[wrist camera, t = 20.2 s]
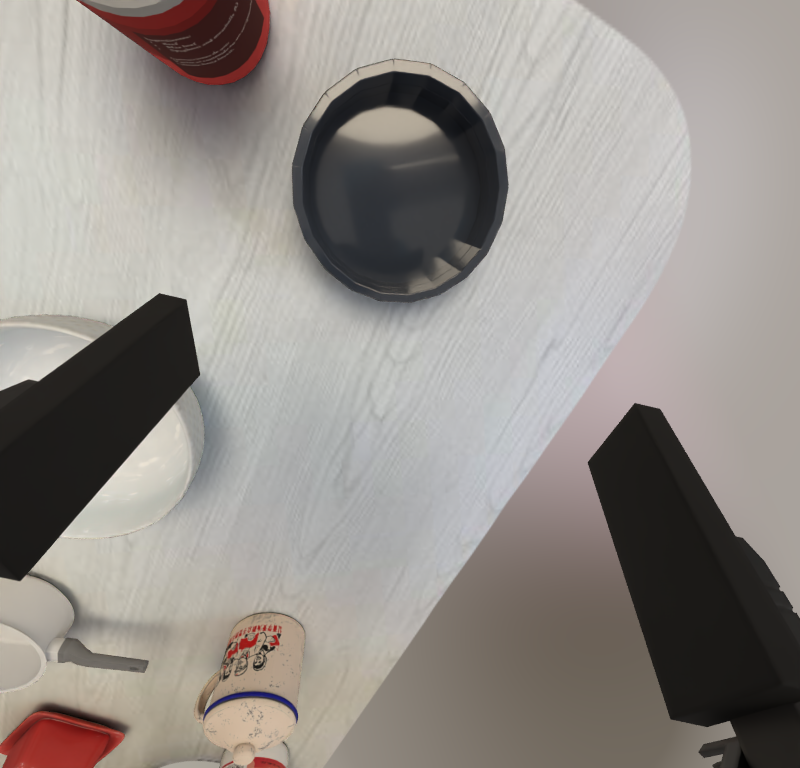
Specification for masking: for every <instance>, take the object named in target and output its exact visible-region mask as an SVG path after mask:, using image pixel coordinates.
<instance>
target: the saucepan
mask: <svg viewBox="0 0 800 768" xmlns="http://www.w3.org/2000/svg"><path fill="white" fill-rule="evenodd" d="M73 622H74V610H73V607H72V605H71V603H70V602H69V601H68V599H67V598H66V597H65V596H64V595H63V594H62V593H61V592H60V590H58V589H57V588H56V587H55V586H53V585H52V584H50V583H48V582H47V581H44V580H42V579H40V578H37V577H33V576H30V575H26V576H25V577H24V578H23V579H22V580H21V581H15V580H10V579H6V578H1V577H0V693H8V692H13V691H18V690H21V689H24V688H26V687H29V686H31V685H32V684H34V683H36V682H37V681H38V680H39V679H40V678H41V677H42V676H43V674H44V673H45V671H46V666H47V661H51V662H58V663H65V662H72V663H75V664H77V665H81V666H86V667H94V668H103V669H113V670H122V671H131V672H141V673H144V672H145V670H146V668H147V666H148V662H149V661H148V660H140V659H133V658H126V657H119V656H111V655H104V654H97V653H92V652H91V651H90V650H88V649H87V648H86V647H85V646H84V645H83V644H82V643H81V642H80V641H79V640H78V639H73V638H64V636H65V635H66V633H67V632H68V630H69V629H70V627H71V625H72V623H73Z"/></svg>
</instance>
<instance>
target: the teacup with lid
mask: <svg viewBox="0 0 800 768" xmlns="http://www.w3.org/2000/svg"><path fill="white" fill-rule="evenodd" d="M304 645H305V632H304V630H303V628H302V626H301V625H300V624H299V623H298V622H297V621H295V620H294V619H292V618H290V617H288V616H285V615H282V614H276V613H262V614H256V615H252V616H250V617H247V618H245V619H243V620H242V621H240V622H239V623H238V624H237V625H236V626H235V627H234V629H233V630H232V632H231V635H230V638H229V642H228V645H227V648H226V652H225V655H224V659H223V662H222V665H221V669H220V670H219V671H218V672H216V673H215V674H214V675H213V676H212V677H211V678H210V679H209V680H208V682H207V683H206V684H205V686H204V687H203V689H202V690H201V692H200V694H199V696H198V698H197V701H196V704H195V708H194V716H195V719H196V720H197V721H198V722H199V723H201V724H203V729H204V733H205V735H206V737H207V738H208V739H209V740H210V741H211V742H212V743H214V744H215V745H217V746H219V747H222V748H224V749H227V750H228V751H230V752H232V753H233V757H232V759H233V762H234V763H235V764H236V765H241V766H243V765H248V764H250V763H251V762H252V761H253V760H254V757H255V753H258V752H260V751H262V750H264V749H268V748H271V747H274V746H276V745H278V744H280V743H282V742H283V741H285V740H286V739H287V738H288V737H289V736H290V735H291V733H292V732H293V730H294V728H295V726H296V723H297V720H298V713H297V702H298V693H299V685H300V677H301V669H302V661H303V653H304ZM213 690H214V692H213ZM212 692H213V696H212V699H211V702H210V706H209V707H208V709H207V710H206V712H205V714H204V711H205V706H206V703H207V701H208V699H209V697H210V695H211V693H212Z"/></svg>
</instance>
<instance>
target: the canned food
mask: <svg viewBox="0 0 800 768" xmlns="http://www.w3.org/2000/svg"><path fill="white" fill-rule="evenodd" d="M77 1H78V2H80V3H81V4H82V5H84V6H85V7H87V8H88V9H89V10H91V11H92V12H94V13H95V14H96V15H98V16H99V17H101V18H102V19H103V20H105V21H106V22H108V23H109V24H110V25H112V26H113V27H114V28H116V29H117V30H119V31H120V32H121V33H123V34H124V35H126V36H127V37H128V38H130V39H131V40H133V41H134V42H135V43H137V44H138V45H140V46H141V47H142V48H144V49H145V50H146V51H148V52H149V53H151V54H152V55H153V56H155V57H156V58H158V59H159V60H160V61H162V62H163V63H165V64H166V65H167V66H169V67H170V68H172V69H173V70H175V71H176V72H178V73H179V74H180V75H182V76H184V77H187V78H189V79H191V80H193V81H196V82H200V83H204V84H208V85H223V84H228V83H232V82H235V81H237V80H239V79H241V78H243V77H245V76H246V75H247V74H249V73H250V72H251V71H252V70H253V69H254V68H255V66H256V65H257V63H258V62H259V60H260V59H261V57H262V54H263V52H264V49H265V47H266V44H267V39H268V34H269V26H270V11H269V4H268V0H77Z"/></svg>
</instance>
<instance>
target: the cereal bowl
mask: <svg viewBox="0 0 800 768" xmlns="http://www.w3.org/2000/svg"><path fill="white" fill-rule="evenodd" d="M112 327H114V326H111V325H107V324H105V323H102V322H99V321H94V320H90V319H85V318H79V317H73V316H63V315H47V314H44V315H27V316H21V317H12V318H7V319H1V320H0V391H1V390H4V389H6V388H8V387H11V386H13V385H16V384H18V383H21V382H23V381H25V380H28V379H30V380H34V381H40V380H41V379H42V378H44V377H45V376H46V375H48V374H49V373H51V372H52V371H53V370H55V369H56V368H57V367H59V366H60V365H62V364H63V363H64V362H66V361H67V360H68V359H70V358H71V357H73V356H74V355H75V354H77V353H78V352H79V351H81V350H82V349H84V348H85V347H86V346H88V345H89V344H90V343H92V342H93V341H95V340H96V339H97V338H99V337H100V336H101V335H103V334H104V333H106V332H107V331H108V330H110V329H111V328H112ZM204 427H205V426H204V422H203V415H202V414H201V409H200V406H199V403H198V401H197V398H196V396H195V394H194V393H193V391H192V389H191V387H189V388H188V389H187V390H186V392H185V393H184V394H183V395H182V396H181V397H180V399H179V400H178V401H177V402H176V403H175V404H174V405H173V407H172V408H171V409H170V410H169V411H168V412H167V413H166V415H165V416H164V417H163V418H162V419H161V420H160V422H159V423H158V424H157V425H156V426H155V427H154V428H153V430H152V431H151V432H150V433H149V434H148V435H147V436H146V438H145V439H144V440H143V441H142V442H141V443H140V445H139V446H138V447H137V448H136V449H135V450H134V451H133V453H132V454H131V455H130V456H129V457H128V458H127V459H126V461H125V462H124V463H123V464H122V465H121V466H120V468H119V469H118V470H117V471H116V472H115V473H114V474H113V476H112V477H111V478H110V479H109V480H108V481H107V482H106V484H105V485H104V486H103V487H102V488H101V489H100V491H99V492H98V493H97V494H96V495H95V496H94V497H93V499H92V500H91V501H90V502H89V503H88V504H87V505H86V507H85V508H84V509H83V510H82V511H81V512H80V514H79V515H78V516H77V517H76V518H75V519H74V520H73V522H72V523H71V524H70V525H69V526H68V527H67V529H66V530H65V531H64V532H63V533H62V534H61V535H60V538H69V539H102V538H111V537H117V536H122V535H126V534H130V533H133V532H136V531H139V530H141V529H144V528H146V527H148V526H150V525H152V524H154V523H155V522H157V521H159V520H160V519H161V518H163V517H164V516H165V515H167V514H168V513H169V512H170V511H171V510H172V509H173V508H174V507H175V506H176V505H177V504H178V503H179V501H180V500H181V499H182V498H183V497H184V495H185V493H186V491H187V490H188V489H189V487H190V484H191V483H192V481H193V479H194V476H195V474H196V473H197V469H198V467H199V465H200V460H201V457H202V454H203V447H204V439H205V438H204V436H205V434H204Z"/></svg>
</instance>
